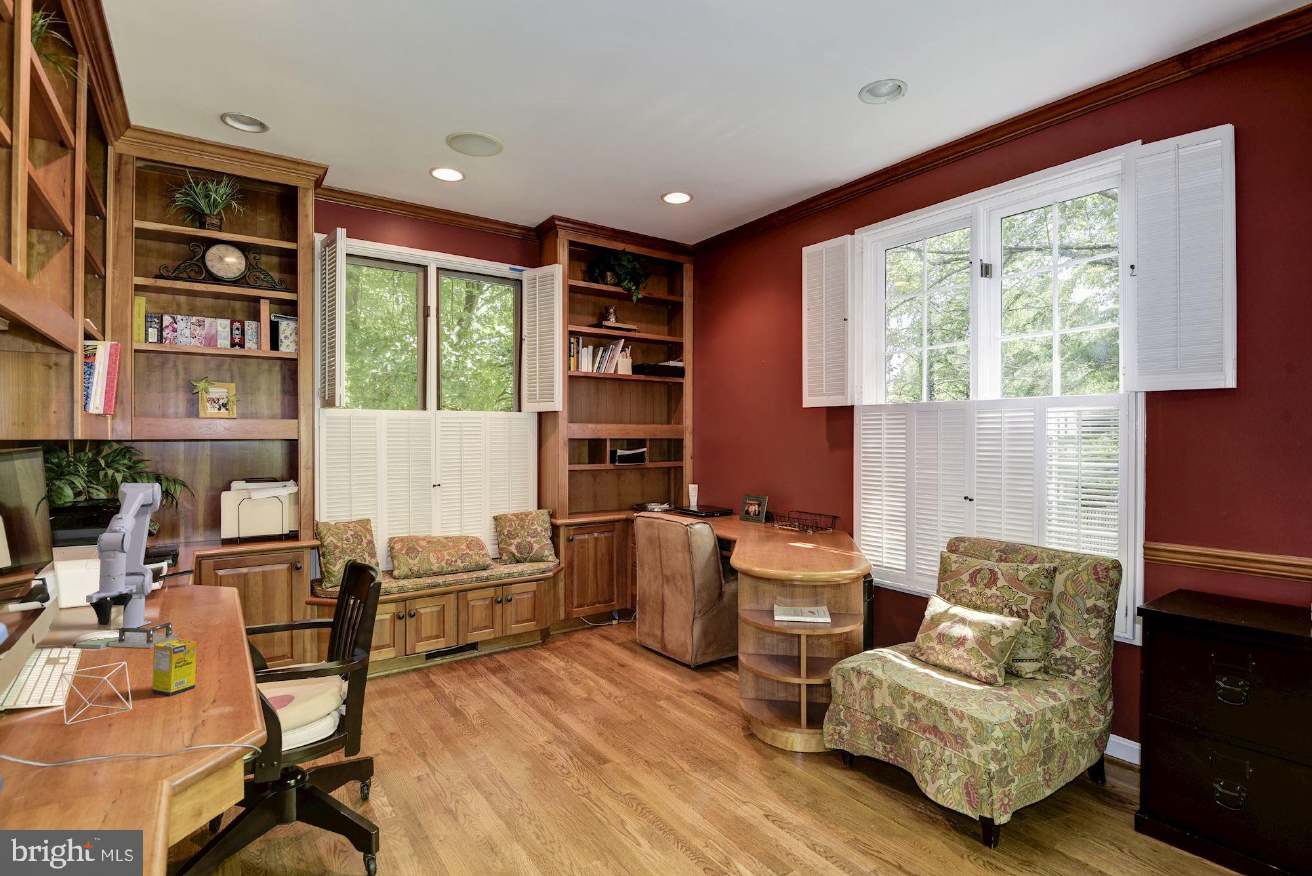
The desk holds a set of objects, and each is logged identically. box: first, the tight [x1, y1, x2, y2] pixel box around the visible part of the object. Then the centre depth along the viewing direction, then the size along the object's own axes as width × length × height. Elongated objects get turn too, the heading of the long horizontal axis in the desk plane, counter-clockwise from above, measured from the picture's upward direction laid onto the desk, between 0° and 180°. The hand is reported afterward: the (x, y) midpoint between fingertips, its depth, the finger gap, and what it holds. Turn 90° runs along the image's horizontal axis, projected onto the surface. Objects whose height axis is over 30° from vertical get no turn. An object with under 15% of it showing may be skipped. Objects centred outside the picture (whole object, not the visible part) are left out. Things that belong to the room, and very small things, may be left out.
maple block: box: [96, 605, 124, 631], centre depth 191 cm, size 4×4×6 cm
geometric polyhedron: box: [60, 661, 133, 725], centre depth 141 cm, size 12×11×9 cm
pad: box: [75, 629, 137, 650], centre depth 191 cm, size 7×14×1 cm, turn 178°
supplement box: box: [151, 638, 198, 697], centre depth 155 cm, size 6×6×11 cm
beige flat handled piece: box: [108, 621, 179, 649], centre depth 190 cm, size 12×10×5 cm
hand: (110, 622), depth 191 cm, fingers closed on maple block, 4 cm apart
